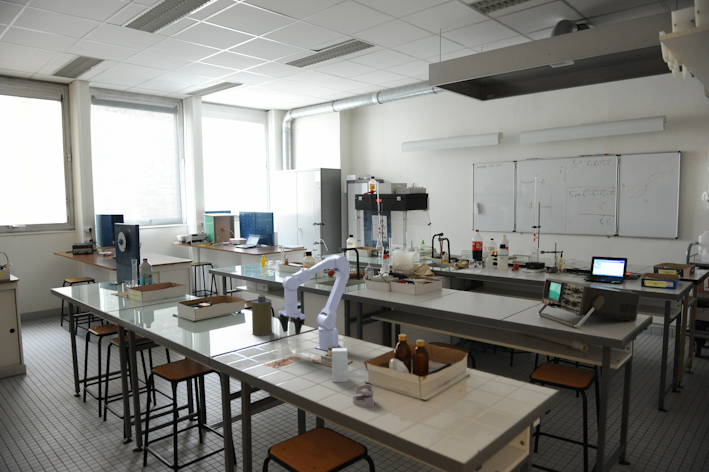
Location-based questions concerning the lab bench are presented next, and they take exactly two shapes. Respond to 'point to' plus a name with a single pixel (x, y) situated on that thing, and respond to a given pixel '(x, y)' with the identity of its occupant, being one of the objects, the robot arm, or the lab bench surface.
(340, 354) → the skincare box
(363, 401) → the dental mold
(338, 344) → the robot arm
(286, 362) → the bark
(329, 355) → the wood peg
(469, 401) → the lab bench surface
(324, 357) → the holder board
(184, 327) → the lab bench surface
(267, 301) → the canister
